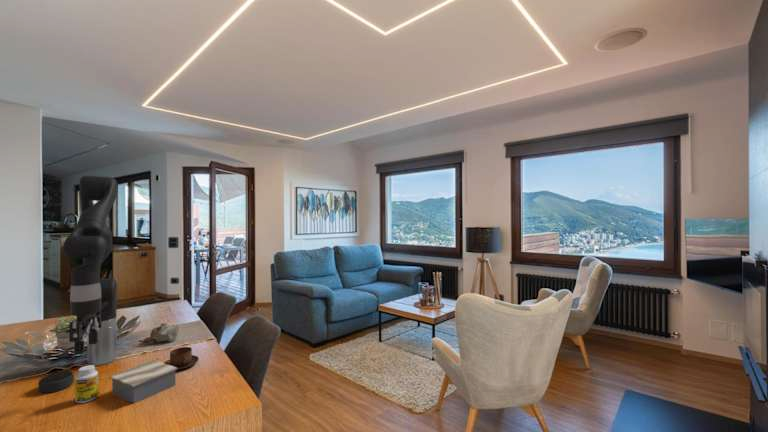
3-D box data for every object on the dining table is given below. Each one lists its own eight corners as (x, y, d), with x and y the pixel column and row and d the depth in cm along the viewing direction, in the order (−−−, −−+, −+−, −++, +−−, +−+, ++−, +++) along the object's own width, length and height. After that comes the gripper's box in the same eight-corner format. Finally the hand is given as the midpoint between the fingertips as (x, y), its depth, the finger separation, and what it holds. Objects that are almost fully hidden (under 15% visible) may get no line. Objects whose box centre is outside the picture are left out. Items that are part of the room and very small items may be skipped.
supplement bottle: (73, 405, 107) (73, 373, 107) (77, 398, 112) (76, 366, 112) (96, 400, 110) (96, 368, 110) (99, 393, 115) (99, 362, 115)
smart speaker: (78, 385, 120) (78, 374, 120) (43, 397, 113) (43, 384, 113) (68, 379, 125) (68, 368, 125) (34, 390, 117) (34, 378, 117)
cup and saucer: (205, 363, 138) (205, 347, 138) (176, 375, 127) (176, 359, 127) (185, 357, 143) (185, 343, 143) (155, 369, 132) (155, 353, 132)
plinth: (109, 394, 114) (109, 376, 114) (154, 376, 126) (154, 360, 126) (133, 404, 107) (132, 385, 107) (177, 384, 120) (177, 367, 120)
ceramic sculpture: (172, 325, 157) (137, 329, 156) (173, 344, 157) (138, 348, 156) (183, 318, 168) (150, 322, 166) (184, 336, 168) (151, 340, 166)
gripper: (88, 302, 105) (89, 355, 105) (110, 292, 119) (110, 339, 119) (58, 304, 103) (58, 358, 103) (83, 294, 117) (84, 342, 117)
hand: (86, 348), depth 111 cm, fingers open, 8 cm apart
